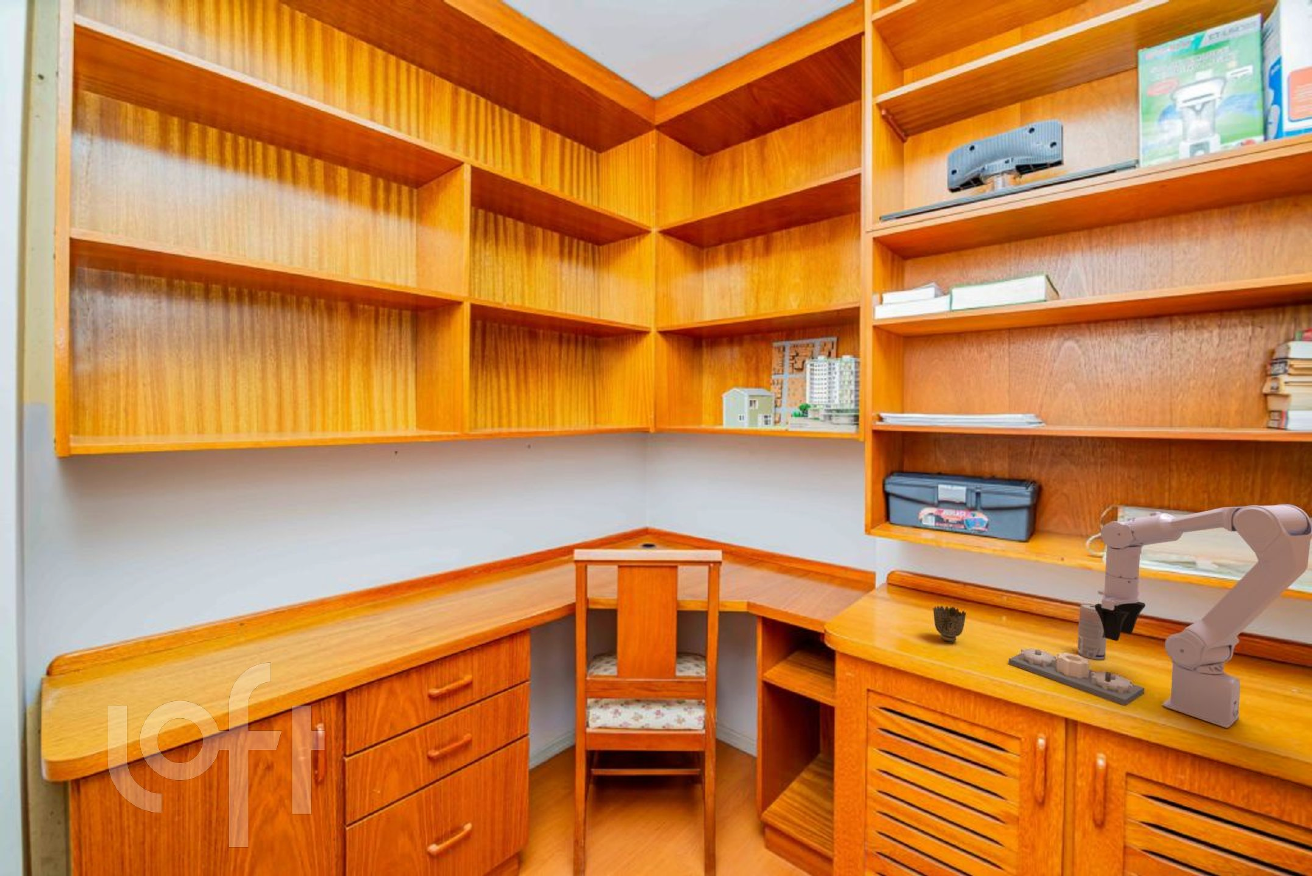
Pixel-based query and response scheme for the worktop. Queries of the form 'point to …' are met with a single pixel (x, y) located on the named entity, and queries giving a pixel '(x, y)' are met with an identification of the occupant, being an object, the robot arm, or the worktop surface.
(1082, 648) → the energy drink
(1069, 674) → the loose gear
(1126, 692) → the gear board
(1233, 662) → the worktop surface
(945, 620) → the cup
